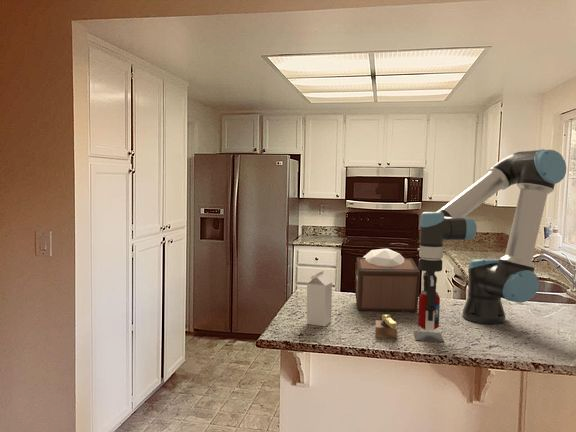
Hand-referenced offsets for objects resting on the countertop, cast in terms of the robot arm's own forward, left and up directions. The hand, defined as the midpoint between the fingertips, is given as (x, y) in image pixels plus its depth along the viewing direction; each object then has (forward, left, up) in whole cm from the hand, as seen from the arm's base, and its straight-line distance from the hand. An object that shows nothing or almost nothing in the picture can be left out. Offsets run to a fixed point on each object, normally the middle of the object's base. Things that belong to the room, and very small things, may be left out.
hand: (428, 326), depth 156 cm
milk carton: (+38, -8, -4) cm, 39 cm away
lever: (+13, +3, +1) cm, 13 cm away
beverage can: (0, 0, -1) cm, 1 cm away
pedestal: (+14, 0, -4) cm, 14 cm away
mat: (0, 0, -4) cm, 4 cm away
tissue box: (+14, -40, -4) cm, 43 cm away
